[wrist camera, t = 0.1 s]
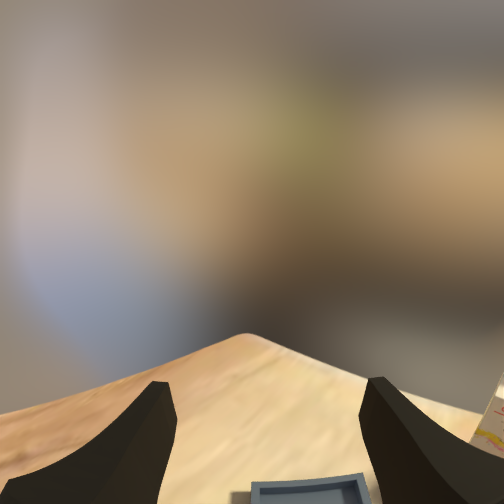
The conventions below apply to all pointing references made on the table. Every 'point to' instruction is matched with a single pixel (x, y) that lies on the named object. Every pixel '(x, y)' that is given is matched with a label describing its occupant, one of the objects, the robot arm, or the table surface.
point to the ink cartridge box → (492, 425)
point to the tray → (313, 491)
